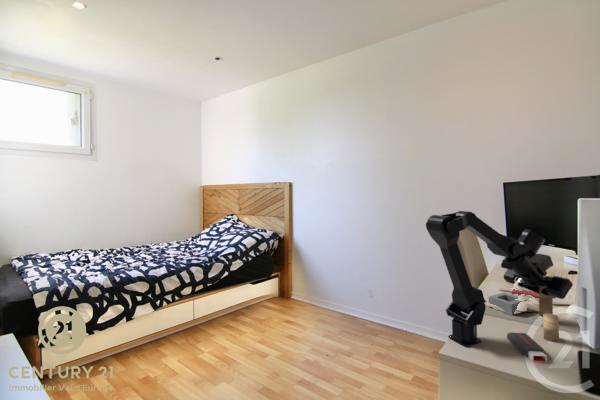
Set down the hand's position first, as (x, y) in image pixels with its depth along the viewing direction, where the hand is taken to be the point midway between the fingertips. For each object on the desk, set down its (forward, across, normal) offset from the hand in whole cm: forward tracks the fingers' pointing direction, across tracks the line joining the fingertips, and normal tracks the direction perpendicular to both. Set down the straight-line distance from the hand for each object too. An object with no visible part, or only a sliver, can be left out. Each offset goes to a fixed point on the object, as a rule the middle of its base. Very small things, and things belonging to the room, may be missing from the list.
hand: (548, 295), depth 101 cm
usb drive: (-10, -10, +22) cm, 26 cm away
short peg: (-2, -9, +14) cm, 17 cm away
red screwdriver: (+16, +21, -3) cm, 27 cm away
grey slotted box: (+3, +12, +8) cm, 15 cm away
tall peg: (+4, 0, +6) cm, 7 cm away
